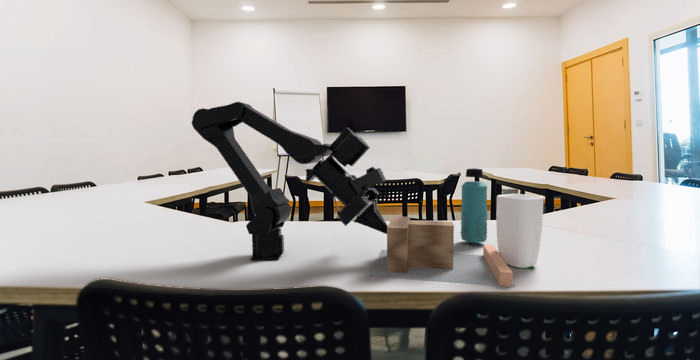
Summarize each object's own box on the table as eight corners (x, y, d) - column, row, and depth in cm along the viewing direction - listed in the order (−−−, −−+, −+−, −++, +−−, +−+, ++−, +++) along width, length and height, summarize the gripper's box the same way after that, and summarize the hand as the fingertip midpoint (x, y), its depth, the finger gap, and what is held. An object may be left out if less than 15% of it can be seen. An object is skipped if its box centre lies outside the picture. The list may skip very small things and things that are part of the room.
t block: (387, 271, 67) (387, 227, 66) (392, 254, 79) (392, 216, 78) (454, 276, 64) (455, 230, 64) (450, 257, 76) (450, 218, 75)
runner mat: (369, 278, 65) (369, 263, 65) (381, 251, 82) (381, 239, 82) (515, 288, 59) (515, 272, 59) (494, 257, 77) (495, 245, 77)
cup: (522, 273, 67) (524, 199, 66) (491, 263, 73) (493, 195, 72) (544, 267, 70) (547, 196, 69) (513, 258, 77) (515, 193, 75)
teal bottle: (489, 249, 84) (491, 169, 82) (461, 247, 85) (462, 169, 83) (484, 242, 90) (486, 167, 88) (458, 241, 91) (459, 167, 90)
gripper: (354, 155, 63) (413, 214, 62) (370, 154, 82) (416, 200, 80) (315, 196, 66) (371, 254, 64) (339, 186, 84) (383, 231, 82)
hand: (388, 232), depth 73 cm, fingers closed
